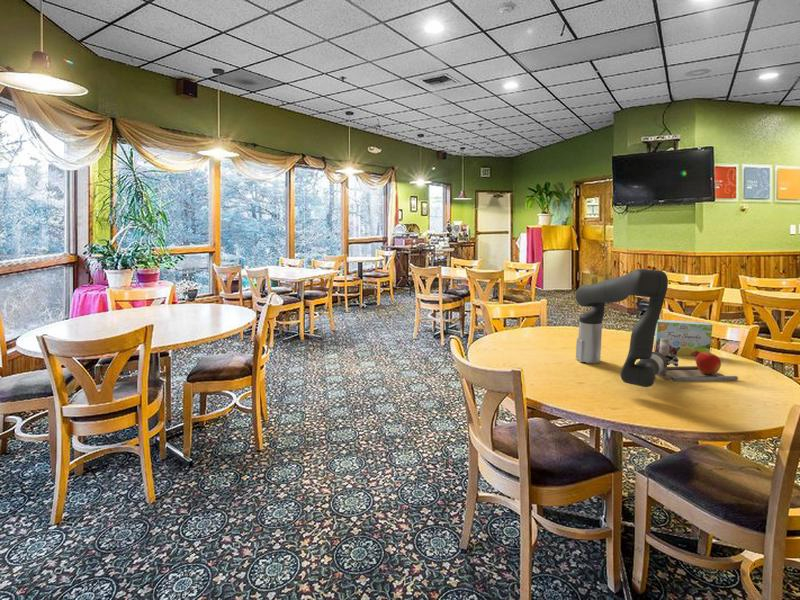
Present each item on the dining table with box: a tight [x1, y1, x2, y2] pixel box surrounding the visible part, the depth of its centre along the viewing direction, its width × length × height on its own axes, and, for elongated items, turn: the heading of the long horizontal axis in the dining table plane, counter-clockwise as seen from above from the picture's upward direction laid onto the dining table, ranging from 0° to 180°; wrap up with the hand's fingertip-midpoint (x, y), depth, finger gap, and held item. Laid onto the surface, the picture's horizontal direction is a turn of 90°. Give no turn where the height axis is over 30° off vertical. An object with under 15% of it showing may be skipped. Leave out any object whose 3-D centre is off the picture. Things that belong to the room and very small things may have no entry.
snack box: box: [653, 319, 713, 357], centre depth 211 cm, size 21×6×15 cm, turn 68°
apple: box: [695, 348, 722, 374], centre depth 182 cm, size 8×8×10 cm
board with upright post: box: [656, 338, 725, 381], centre depth 182 cm, size 24×10×15 cm, turn 89°
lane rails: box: [667, 365, 739, 382], centre depth 183 cm, size 24×14×2 cm, turn 89°
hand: (665, 354), depth 184 cm, fingers closed on board with upright post, 3 cm apart
